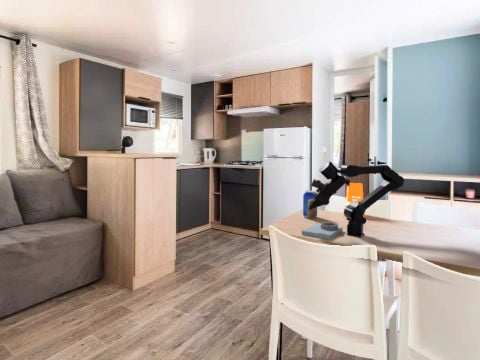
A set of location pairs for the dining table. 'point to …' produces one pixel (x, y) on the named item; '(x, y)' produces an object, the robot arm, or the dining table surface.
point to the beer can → (306, 197)
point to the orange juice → (354, 193)
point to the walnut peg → (312, 212)
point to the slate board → (323, 230)
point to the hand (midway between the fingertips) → (309, 207)
